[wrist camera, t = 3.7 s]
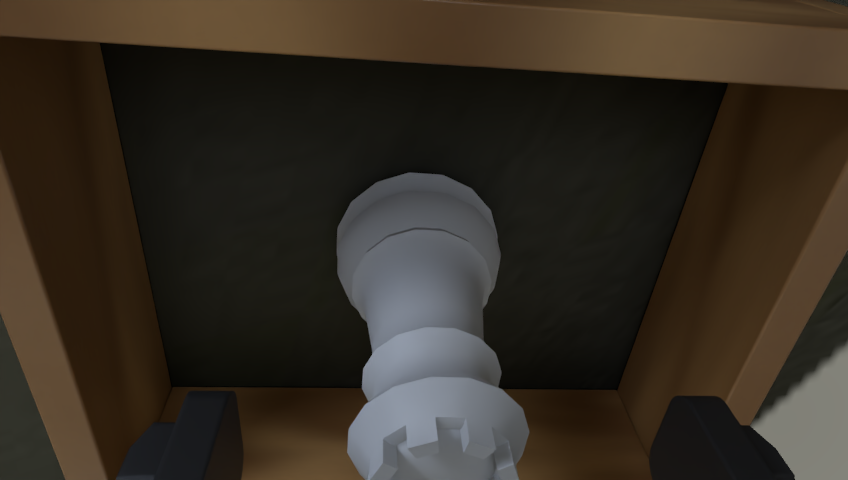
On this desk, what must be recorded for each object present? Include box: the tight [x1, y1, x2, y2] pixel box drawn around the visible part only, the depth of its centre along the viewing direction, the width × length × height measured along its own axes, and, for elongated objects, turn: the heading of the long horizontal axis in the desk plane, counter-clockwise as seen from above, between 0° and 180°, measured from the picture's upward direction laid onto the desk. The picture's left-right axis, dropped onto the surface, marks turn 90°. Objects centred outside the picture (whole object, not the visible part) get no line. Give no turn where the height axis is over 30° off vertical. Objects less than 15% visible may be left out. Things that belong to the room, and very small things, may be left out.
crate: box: [0, 0, 848, 480], centre depth 14 cm, size 17×14×4 cm
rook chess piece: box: [337, 173, 529, 480], centre depth 13 cm, size 4×4×8 cm
